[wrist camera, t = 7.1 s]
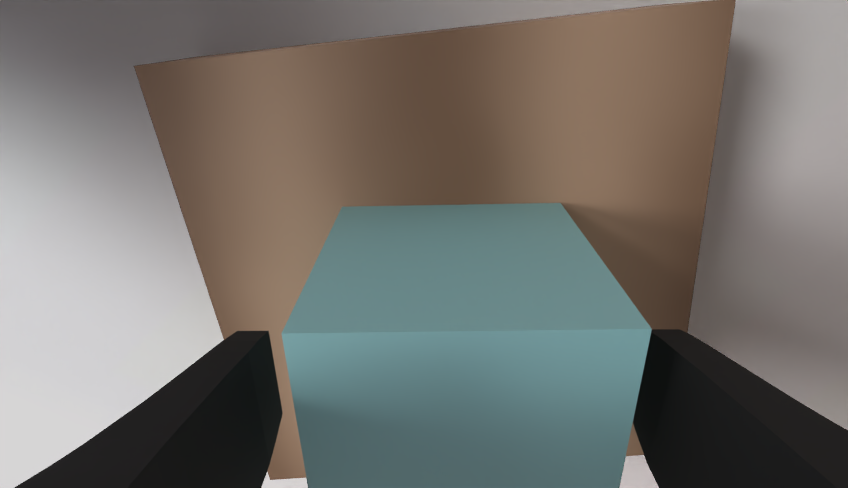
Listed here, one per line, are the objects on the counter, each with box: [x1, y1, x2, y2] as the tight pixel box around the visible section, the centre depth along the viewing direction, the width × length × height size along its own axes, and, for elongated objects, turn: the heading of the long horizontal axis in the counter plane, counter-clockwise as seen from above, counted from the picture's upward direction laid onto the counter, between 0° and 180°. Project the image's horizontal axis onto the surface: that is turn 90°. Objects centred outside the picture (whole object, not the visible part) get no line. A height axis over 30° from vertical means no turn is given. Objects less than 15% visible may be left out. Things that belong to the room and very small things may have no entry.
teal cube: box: [281, 203, 652, 488], centre depth 10 cm, size 5×5×5 cm
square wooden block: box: [134, 0, 736, 480], centre depth 14 cm, size 12×12×4 cm
